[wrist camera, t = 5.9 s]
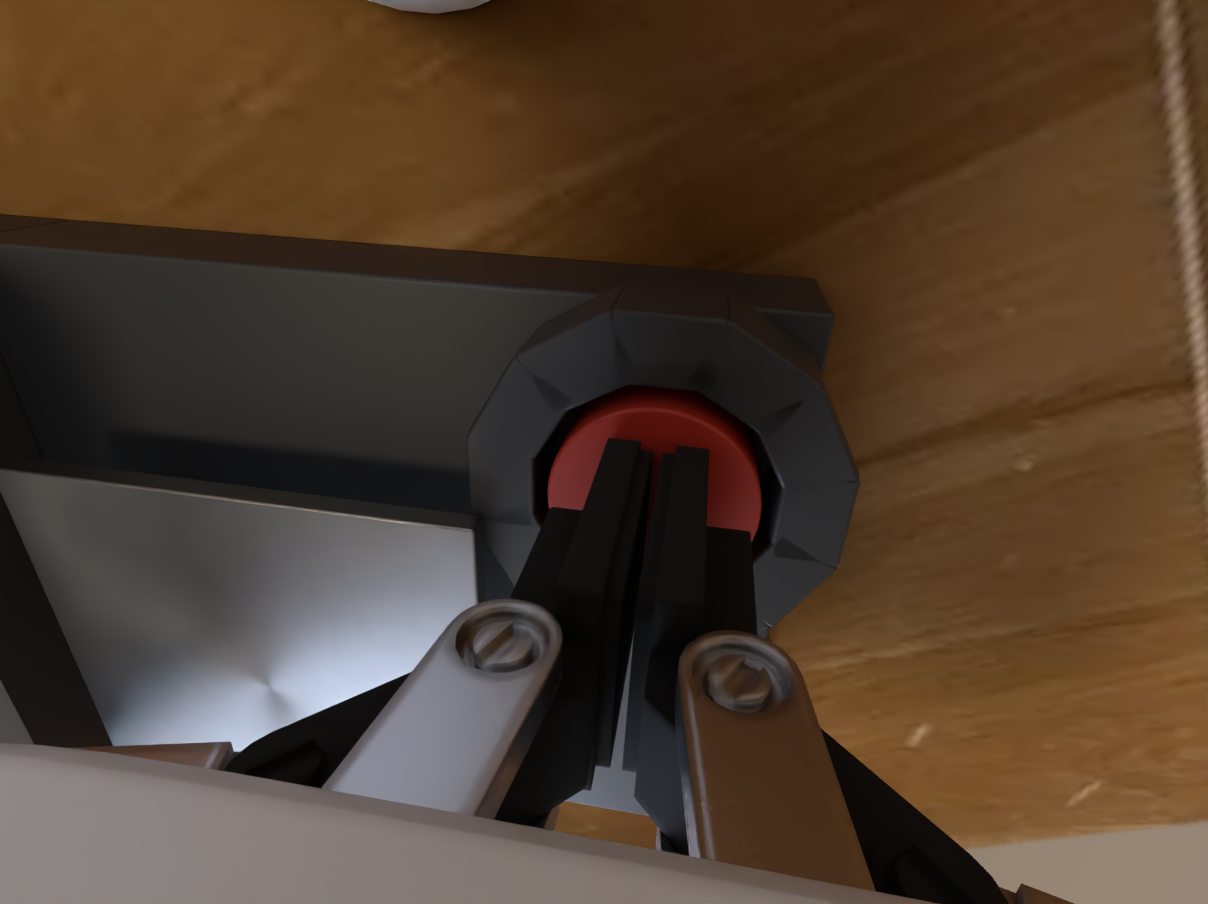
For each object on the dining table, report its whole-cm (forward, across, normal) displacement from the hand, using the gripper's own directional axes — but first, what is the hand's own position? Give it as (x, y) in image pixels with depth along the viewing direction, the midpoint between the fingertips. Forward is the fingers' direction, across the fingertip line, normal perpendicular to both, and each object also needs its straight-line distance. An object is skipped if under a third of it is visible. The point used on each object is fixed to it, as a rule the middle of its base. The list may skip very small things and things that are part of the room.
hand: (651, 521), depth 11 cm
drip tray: (0, +8, +5) cm, 9 cm away
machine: (+5, +6, +4) cm, 8 cm away
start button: (+2, 0, 0) cm, 2 cm away
